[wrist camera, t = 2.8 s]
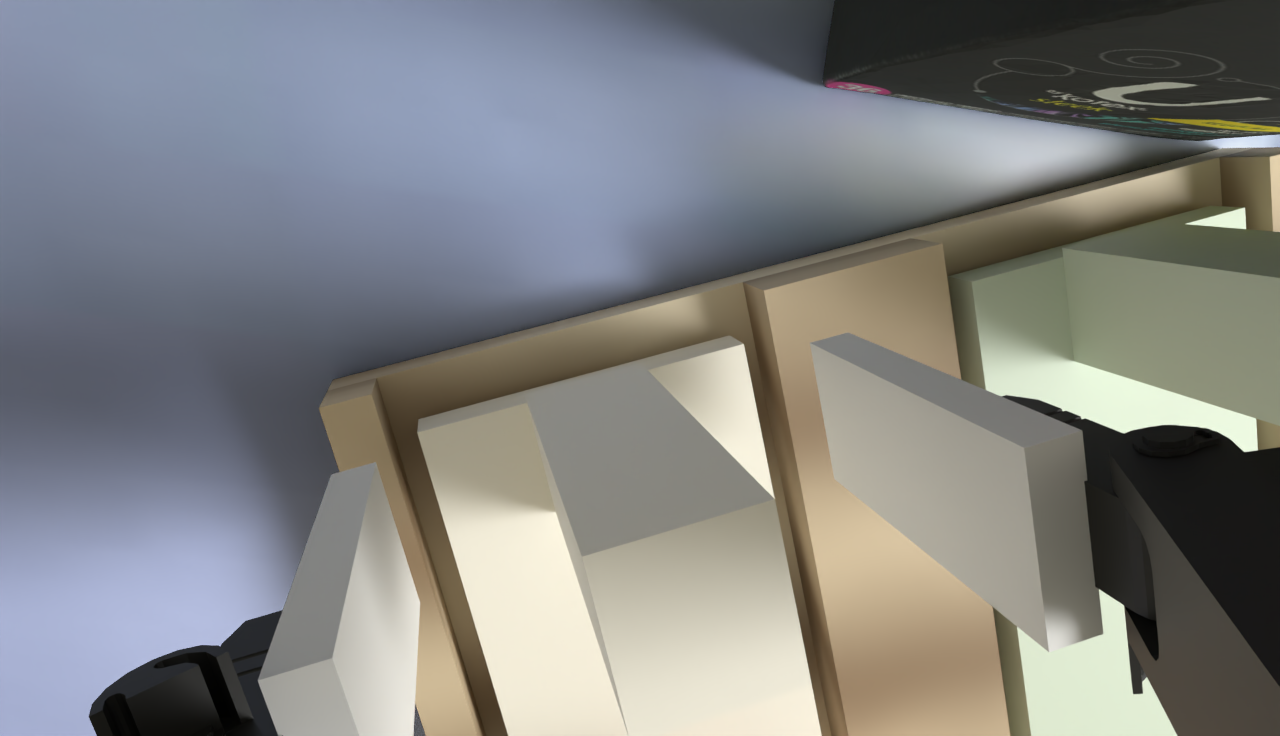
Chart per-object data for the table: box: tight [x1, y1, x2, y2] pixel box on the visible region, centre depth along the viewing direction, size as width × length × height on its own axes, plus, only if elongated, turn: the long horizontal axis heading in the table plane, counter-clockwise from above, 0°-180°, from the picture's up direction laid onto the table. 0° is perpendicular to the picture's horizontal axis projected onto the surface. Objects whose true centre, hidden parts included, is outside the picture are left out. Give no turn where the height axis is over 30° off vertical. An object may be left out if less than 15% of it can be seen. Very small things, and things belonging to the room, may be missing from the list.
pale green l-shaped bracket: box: [948, 206, 1280, 736], centre depth 19 cm, size 16×7×9 cm, turn 13°
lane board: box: [319, 147, 1280, 736], centre depth 22 cm, size 18×22×4 cm
